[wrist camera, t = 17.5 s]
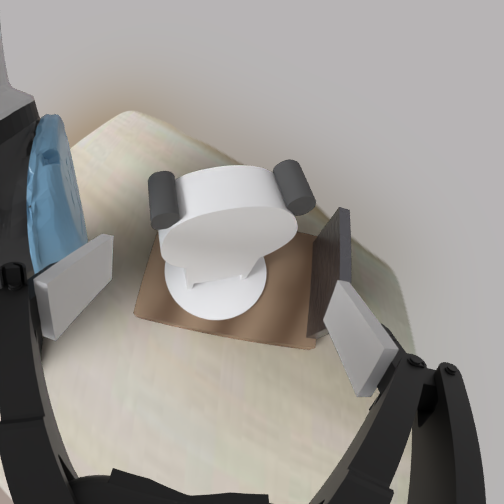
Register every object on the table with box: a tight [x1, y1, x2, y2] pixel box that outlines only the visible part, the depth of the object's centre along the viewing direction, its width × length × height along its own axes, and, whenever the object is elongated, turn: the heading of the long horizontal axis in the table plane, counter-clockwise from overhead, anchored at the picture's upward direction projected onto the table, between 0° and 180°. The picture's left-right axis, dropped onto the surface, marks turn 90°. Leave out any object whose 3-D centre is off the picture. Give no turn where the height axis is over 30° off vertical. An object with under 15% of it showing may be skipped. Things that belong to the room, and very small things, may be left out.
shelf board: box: [133, 232, 317, 350], centre depth 33 cm, size 20×14×2 cm
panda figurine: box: [148, 160, 316, 320], centre depth 25 cm, size 12×11×15 cm
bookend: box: [306, 207, 351, 339], centre depth 29 cm, size 1×12×8 cm, turn 172°
